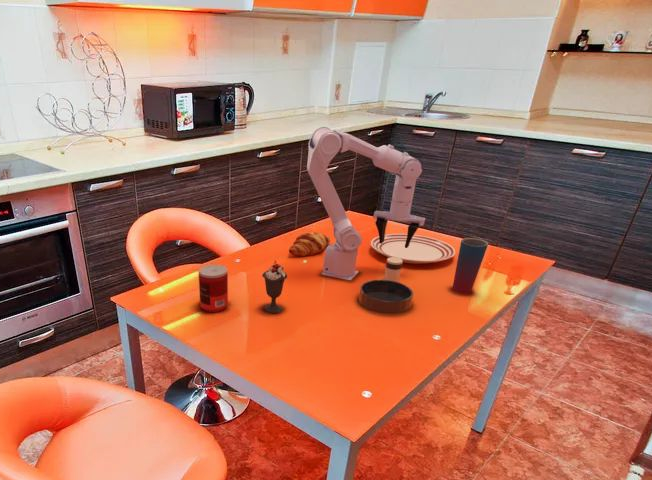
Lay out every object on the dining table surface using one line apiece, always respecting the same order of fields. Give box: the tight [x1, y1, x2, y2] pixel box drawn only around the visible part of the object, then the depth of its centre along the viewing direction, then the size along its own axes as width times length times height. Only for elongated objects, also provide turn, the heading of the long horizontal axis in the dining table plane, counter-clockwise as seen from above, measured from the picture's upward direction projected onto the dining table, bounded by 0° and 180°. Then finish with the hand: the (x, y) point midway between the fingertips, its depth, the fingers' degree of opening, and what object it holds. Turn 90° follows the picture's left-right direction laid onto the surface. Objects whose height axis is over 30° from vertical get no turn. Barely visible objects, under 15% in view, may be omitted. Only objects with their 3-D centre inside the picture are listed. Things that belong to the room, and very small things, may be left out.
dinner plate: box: [370, 233, 456, 265], centre depth 164 cm, size 27×27×3 cm
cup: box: [451, 237, 489, 295], centre depth 136 cm, size 7×7×15 cm
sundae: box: [261, 260, 288, 314], centre depth 128 cm, size 7×7×15 cm
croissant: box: [288, 231, 331, 257], centre depth 168 cm, size 21×10×8 cm, turn 132°
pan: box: [358, 279, 414, 315], centre depth 133 cm, size 14×14×4 cm
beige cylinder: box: [383, 257, 404, 283], centre depth 142 cm, size 4×4×8 cm
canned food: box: [198, 264, 229, 313], centre depth 131 cm, size 8×8×11 cm
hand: (393, 244), depth 146 cm, fingers open, 7 cm apart
